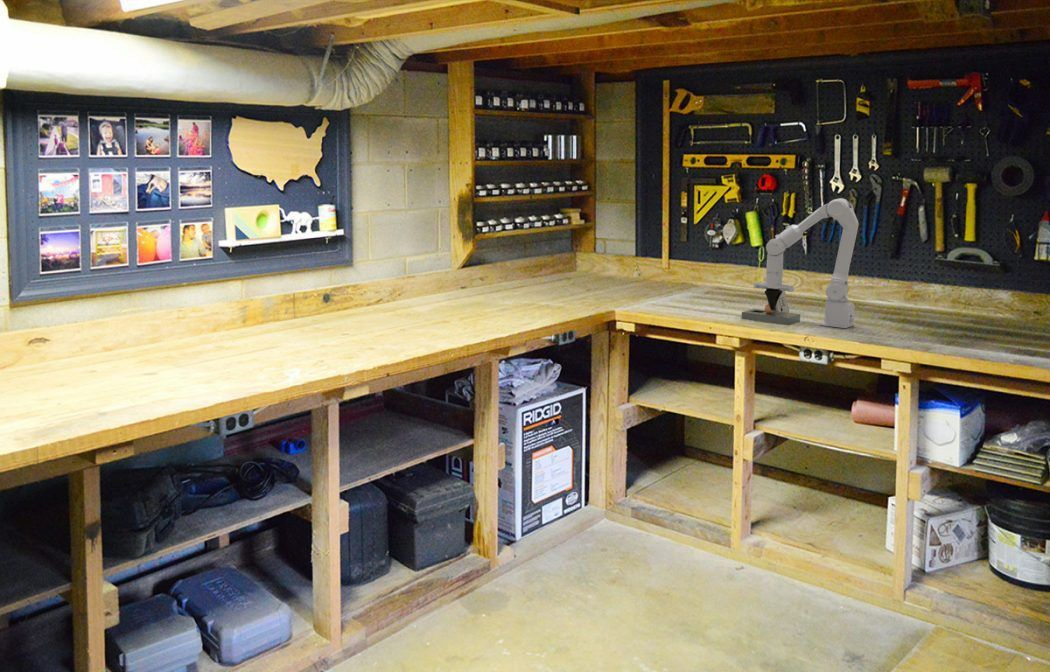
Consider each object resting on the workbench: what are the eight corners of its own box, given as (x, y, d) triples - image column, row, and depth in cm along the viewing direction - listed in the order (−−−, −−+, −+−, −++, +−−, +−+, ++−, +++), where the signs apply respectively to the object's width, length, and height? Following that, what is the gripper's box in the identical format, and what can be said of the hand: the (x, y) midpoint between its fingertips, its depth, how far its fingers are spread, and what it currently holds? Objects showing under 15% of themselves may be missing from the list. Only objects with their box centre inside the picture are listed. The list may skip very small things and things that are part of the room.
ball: (776, 304, 344) (768, 302, 346) (772, 306, 342) (764, 303, 344) (774, 313, 345) (766, 311, 347) (770, 314, 343) (762, 312, 345)
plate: (799, 321, 343) (800, 314, 342) (787, 324, 335) (788, 317, 335) (754, 315, 354) (754, 308, 354) (741, 318, 347) (741, 312, 346)
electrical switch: (779, 316, 353) (778, 291, 351) (766, 316, 356) (765, 291, 355) (789, 313, 360) (789, 288, 359) (776, 313, 363) (776, 288, 362)
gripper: (798, 273, 339) (796, 310, 342) (760, 269, 349) (758, 306, 351) (789, 274, 334) (787, 312, 337) (751, 271, 343) (750, 308, 346)
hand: (772, 309), depth 344 cm, fingers closed, pressing on ball
